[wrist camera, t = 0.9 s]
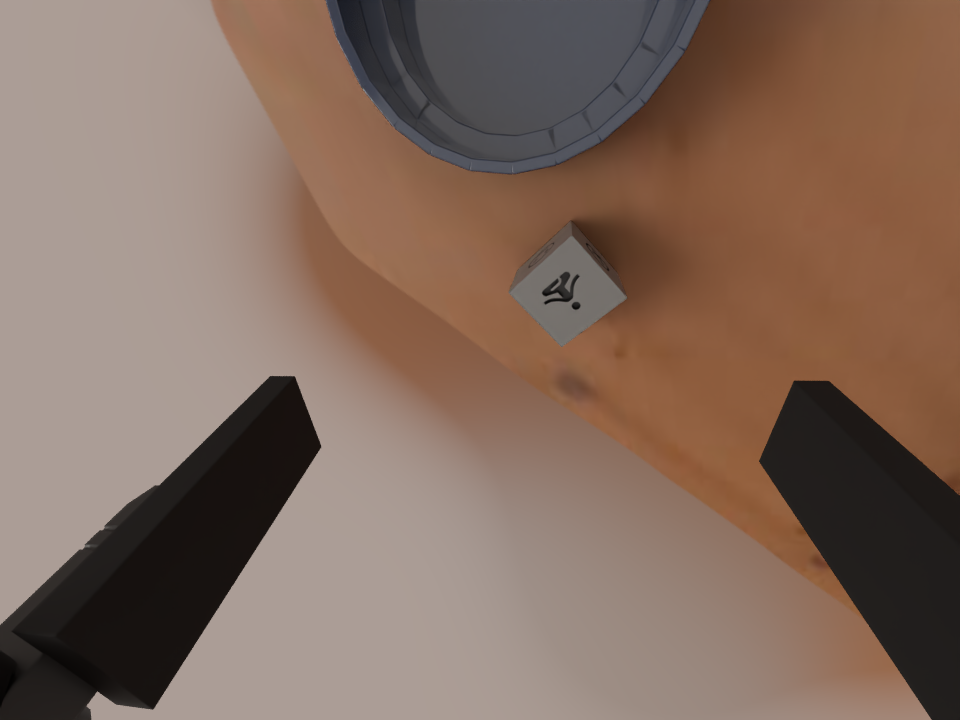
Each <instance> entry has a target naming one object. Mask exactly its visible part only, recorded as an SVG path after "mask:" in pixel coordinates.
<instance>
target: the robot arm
mask: <svg viewBox="0 0 960 720" xmlns="http://www.w3.org/2000/svg"><path fill="white" fill-rule="evenodd" d="M320 448H321V444H320V441H319V439H318V436H317V434H316V431H315V429H314V426H313V423H312V421H311V418H310V415H309V413H308V410H307V407H306V405H305V402H304V400H303V397H302V394H301V391H300V389H299V386H298V384H297V381H296V378H295V377H294V376H270V377H269V378H268V379H267V380H266V381H265V382H264V383H263V384H262V385H261V386H260V387H259V388H258V389H257V390H256V391H255V392H254V393H253V394H252V395H251V396H250V397H249V398H248V399H247V400H246V401H245V402H244V403H243V404H242V405H241V406H240V407H238V408H237V410H235V412H233V414H231V415H230V416H229V417H228V419H226V420H225V421H224V422H223V423H222V424H221V425H220V426H219V427H218V428H217V429H216V430H215V431H214V432H213V433H212V434H211V435H210V436H209V437H208V438H207V439H206V440H205V441H204V442H203V443H202V444H201V445H200V446H199V447H198V448H197V449H196V450H195V451H194V452H193V453H192V454H191V455H190V456H189V457H188V458H187V459H186V460H185V461H184V462H183V463H182V464H181V465H180V466H179V467H178V468H177V469H176V470H175V471H173V472H172V473H171V475H170V476H168V477H167V478H166V479H165V480H164V481H163V482H162V483H161V484H160V485H159V486H154V487H152V488H151V489H149V490H148V491H146V492H145V493H143V494H142V495H140V496H139V497H137V498H136V499H134V500H133V501H131V502H130V503H128V504H127V505H126V506H125V507H124V508H123V509H122V510H121V511H120V512H119V513H118V514H116V515H115V516H114V517H113V518H112V519H111V520H110V521H109V522H108V523H107V524H106V525H105V528H104V530H102V531H101V530H100V531H99V532H98V533H96V534H95V535H94V536H93V537H92V538H91V539H90V540H89V541H88V542H87V543H86V544H85V548H84V549H83V550H79V551H78V552H77V553H75V555H73V556H72V557H71V558H70V559H69V560H68V561H67V562H66V563H65V564H64V565H63V566H62V567H61V568H60V569H59V570H58V571H57V572H56V573H55V574H53V576H51V578H49V579H48V580H47V581H46V582H45V583H44V584H43V585H42V586H41V587H40V588H39V589H38V590H37V591H36V592H35V593H34V594H32V596H31V597H29V598H28V599H27V600H26V601H25V602H24V603H23V604H22V605H21V606H20V607H19V608H18V609H17V610H16V611H15V612H14V613H13V614H12V615H10V616H9V617H8V618H7V619H6V620H5V621H4V622H3V623H2V624H1V625H0V720H91V712H90V709H89V708H88V707H87V704H88V703H89V702H90V700H91V699H92V698H93V696H94V695H95V693H96V692H97V691H98V692H99V693H100V694H102V695H103V696H105V697H106V698H108V699H109V700H111V701H112V702H113V703H115V704H117V705H124V706H131V707H138V708H146V709H154V708H155V706H156V704H157V703H158V701H159V700H160V698H161V697H162V695H163V693H164V692H165V690H166V689H167V687H168V686H169V684H170V682H171V681H172V679H173V678H174V676H175V675H176V673H177V671H178V670H179V668H180V667H181V665H182V664H183V662H184V661H185V659H186V657H187V656H188V654H189V653H190V651H191V650H192V648H193V647H194V645H195V643H196V642H197V640H198V639H199V637H200V636H201V634H202V633H203V631H204V629H205V628H206V626H207V625H208V623H209V622H210V620H211V618H212V617H213V615H214V614H215V612H216V611H217V609H218V608H219V606H220V604H221V603H222V601H223V600H224V598H225V596H226V595H227V593H228V592H229V590H230V589H231V587H232V586H233V584H234V583H235V581H236V579H237V578H238V576H239V575H240V573H241V572H242V570H243V568H244V567H245V565H246V564H247V562H248V561H249V559H250V558H251V556H252V554H253V553H254V551H255V550H256V548H257V546H258V545H259V543H260V542H261V540H262V539H263V537H264V536H265V534H266V533H267V531H268V529H269V528H270V526H271V525H272V523H273V522H274V520H275V519H276V517H277V515H278V514H279V512H280V511H281V509H282V507H283V506H284V504H285V503H286V501H287V500H288V498H289V497H290V495H291V494H292V492H293V490H294V489H295V487H296V485H297V484H298V482H299V481H300V479H301V478H302V476H303V475H304V473H305V472H306V470H307V469H308V467H309V465H310V464H311V462H312V461H313V459H314V458H315V456H316V454H317V453H318V451H319V450H320ZM759 462H760V463H761V465H762V466H763V468H764V469H765V471H766V472H767V474H768V475H769V477H770V478H771V480H772V481H773V483H774V484H775V486H776V487H777V489H778V490H779V492H780V493H781V495H782V496H783V498H784V499H785V501H786V502H787V504H788V505H789V507H790V508H791V510H792V511H793V513H794V514H795V516H796V517H797V519H798V520H799V522H800V523H801V525H802V526H803V528H804V529H805V531H806V532H807V534H808V535H809V537H810V538H811V540H812V541H813V543H814V544H815V546H816V547H817V549H818V550H819V552H820V553H821V555H822V556H823V558H824V559H825V561H826V562H827V564H828V565H829V567H830V568H831V570H832V571H833V573H834V574H835V576H836V577H837V579H838V580H839V582H840V583H841V585H842V586H843V588H844V589H845V591H846V592H847V594H848V595H849V597H850V598H851V600H852V601H853V603H854V604H855V606H856V607H857V609H858V610H859V612H860V613H861V615H862V616H863V618H864V619H865V621H866V622H867V624H868V625H869V627H870V628H871V630H872V631H873V632H874V634H875V635H876V637H877V639H878V640H879V642H880V643H881V644H882V646H883V648H884V649H885V651H886V652H887V653H888V655H889V657H890V658H891V659H892V661H893V662H894V664H895V666H896V667H897V668H898V670H899V671H900V673H901V674H902V676H903V677H904V679H905V680H906V682H907V683H908V685H909V686H910V688H911V689H912V691H913V692H914V694H915V695H916V697H917V698H918V700H919V701H920V703H921V704H922V706H923V707H924V709H925V710H926V712H927V713H928V715H929V716H930V718H931V719H932V720H960V496H959V495H958V494H957V493H956V492H955V491H954V490H953V489H951V488H950V487H949V486H948V485H947V484H946V483H945V482H943V481H942V480H941V479H940V478H939V477H938V476H937V475H935V474H934V473H933V472H932V471H931V470H930V469H929V468H927V467H926V466H925V465H924V464H923V463H922V462H921V461H919V460H918V459H917V458H916V457H915V456H914V455H913V454H912V453H910V452H909V451H908V450H907V449H906V448H905V447H904V446H902V445H901V444H900V443H899V442H898V441H897V440H896V439H894V438H893V437H892V436H891V435H890V434H889V433H888V432H886V431H885V430H884V429H883V428H882V427H881V426H880V425H878V424H877V423H876V422H875V421H874V420H873V419H872V418H870V417H869V416H868V415H867V414H866V413H865V412H864V411H862V410H861V409H860V408H859V407H858V406H857V405H856V404H854V403H853V402H852V401H851V400H850V399H849V398H848V397H846V396H845V395H844V394H843V393H842V392H841V391H840V390H839V389H837V388H836V387H835V386H834V385H833V384H832V383H831V382H829V381H794V382H793V384H792V387H791V389H790V391H789V393H788V396H787V398H786V400H785V403H784V405H783V407H782V410H781V412H780V414H779V416H778V419H777V421H776V423H775V426H774V428H773V430H772V433H771V435H770V437H769V439H768V442H767V444H766V446H765V449H764V451H763V453H762V456H761V458H760V460H759Z"/></svg>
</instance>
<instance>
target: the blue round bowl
mask: <svg viewBox="0 0 960 720" xmlns="http://www.w3.org/2000/svg"><path fill="white" fill-rule="evenodd" d="M325 1H326V4H327V7H328V11H329V14H330V18H331V21H332V25H333V28H334V32H335V35H336V37H337V40H338V42H339V44H340V46H341V48H342V50H343V52H344V54H345V56H346V58H347V60H348V62H349V64H350V66H351V68H352V70H353V72H354V74H355V76H356V78H357V80H358V82H359V84H360V86H361V88H362V89H363V90H364V92H365V93H366V94H367V95H368V97H369V98H370V99H371V100H372V102H373V103H374V104H375V105H376V107H377V108H378V109H379V110H380V111H381V113H382V114H383V115H384V116H385V118H386V119H387V120H388V121H389V123H390V124H391V125H392V126H393V127H394V128H395V129H396V130H397V131H399V132H400V133H401V134H403V135H404V136H405V137H407V138H408V139H409V140H411V141H412V142H413V143H415V144H416V145H417V146H418V147H420V148H421V149H422V150H424V151H425V152H426V153H428V154H430V155H431V156H433V157H436V158H438V159H441V160H443V161H446V162H448V163H451V164H453V165H456V166H459V167H461V168H464V169H466V170H470V171H476V172H487V173H499V174H518V173H523V172H528V171H533V170H537V169H542V168H547V167H552V166H556V165H559V164H561V163H563V162H565V161H567V160H569V159H571V158H572V157H574V156H576V155H578V154H580V153H582V152H584V151H586V150H588V149H590V148H592V147H594V146H596V145H598V144H600V143H601V142H603V141H604V140H605V139H606V138H608V137H609V136H610V135H611V134H612V133H613V132H614V131H616V130H617V129H618V128H619V127H620V126H621V125H623V124H624V123H625V122H626V121H627V120H628V119H630V118H631V117H632V116H633V115H634V114H635V113H637V112H638V111H639V110H640V109H641V108H642V107H643V106H644V105H645V104H646V103H647V102H648V101H649V99H650V98H651V97H652V95H653V94H654V93H655V91H656V90H657V89H658V87H659V86H660V85H661V83H662V82H663V81H664V80H665V78H666V77H667V76H668V74H669V73H670V72H671V70H672V69H673V68H674V66H675V65H676V64H677V62H678V61H679V60H680V58H681V57H682V56H683V54H684V53H685V51H686V50H687V48H688V46H689V44H690V42H691V40H692V37H693V35H694V33H695V31H696V29H697V27H698V25H699V23H700V21H701V19H702V17H703V15H704V13H705V11H706V9H707V7H708V5H709V3H710V1H711V0H325Z"/></svg>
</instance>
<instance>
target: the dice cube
mask: <svg viewBox="0 0 960 720" xmlns="http://www.w3.org/2000/svg"><path fill="white" fill-rule="evenodd" d="M509 294H510V295H511V296H512V297H513V298H514V299H515V300H516V301H517V302H518V303H519V304H520V305H521V306H522V307H523V308H524V309H525V310H526V311H527V312H528V313H529V314H530V315H531V316H532V317H533V318H534V319H535V320H536V321H537V322H538V323H539V324H540V325H541V327H542V328H543V329H544V330H545V331H546V332H547V333H548V334H549V335H550V336H551V337H552V338H553V339H554V340H555V341H556V342H557V343H558V344H559V345H560V346H561V347H563V346H564V345H565V344H567V343H568V342H569V341H571V340H572V339H573V338H575V337H576V336H577V335H579V334H580V333H581V332H583V331H584V330H585V329H587V328H588V327H589V326H591V325H592V324H593V323H595V322H596V321H597V320H599V319H600V318H601V317H603V316H604V315H605V314H607V313H608V312H609V311H611V310H612V309H613V308H615V307H616V306H617V305H619V304H620V303H621V302H623V301H624V300H625V299H627V296H626V293H625V290H624V288H623V285H622V283H621V280H620V278H619V275H618V273H617V272H616V271H615V270H614V269H613V267H612V266H611V265H610V264H609V263H608V262H607V261H606V259H605V258H604V257H603V256H602V255H601V254H600V253H599V252H598V250H597V249H596V248H595V247H594V246H593V245H592V244H591V242H590V241H589V240H588V239H587V238H586V237H585V236H584V234H583V233H582V232H581V231H580V230H579V229H578V228H577V226H576V225H575V224H574V223H573V222H572V221H570V222H569V223H568V224H566V225H565V226H564V227H563V228H562V229H561V230H560V231H559V232H558V233H557V234H556V235H555V236H554V237H553V238H551V239H550V240H549V241H548V242H547V243H546V244H545V245H544V246H543V247H542V248H541V249H540V250H539V251H537V252H536V253H535V254H534V255H533V256H532V257H531V258H530V259H529V260H528V261H527V262H526V263H525V264H524V265H522V266H521V267H520V268H519V269H518V270H517V272H516V275H515V278H514V280H513V283H512V285H511V288H510V290H509Z"/></svg>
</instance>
